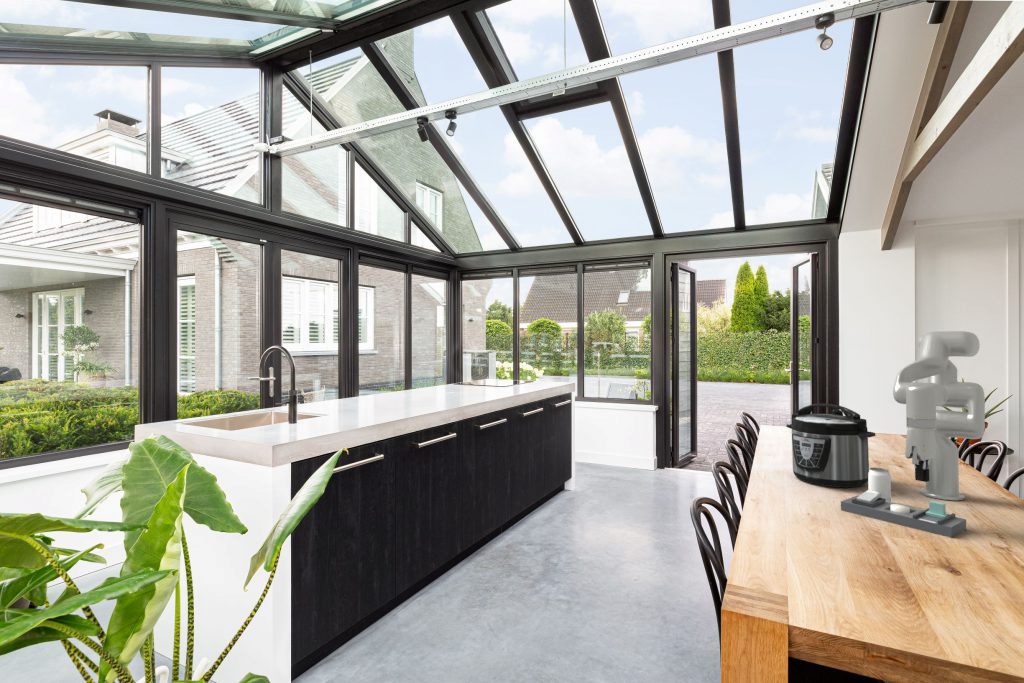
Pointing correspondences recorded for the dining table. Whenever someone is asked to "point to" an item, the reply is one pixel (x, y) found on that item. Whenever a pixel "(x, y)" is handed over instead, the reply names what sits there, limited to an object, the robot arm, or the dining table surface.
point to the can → (880, 482)
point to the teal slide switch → (936, 510)
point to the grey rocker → (869, 496)
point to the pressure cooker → (830, 447)
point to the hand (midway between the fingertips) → (922, 480)
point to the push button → (900, 508)
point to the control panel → (906, 516)
